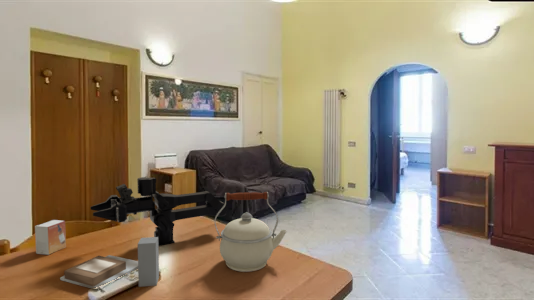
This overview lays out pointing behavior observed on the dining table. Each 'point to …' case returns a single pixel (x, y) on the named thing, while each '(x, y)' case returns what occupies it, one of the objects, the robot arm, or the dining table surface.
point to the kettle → (247, 238)
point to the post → (148, 261)
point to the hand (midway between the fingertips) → (91, 211)
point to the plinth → (99, 271)
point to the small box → (50, 237)
